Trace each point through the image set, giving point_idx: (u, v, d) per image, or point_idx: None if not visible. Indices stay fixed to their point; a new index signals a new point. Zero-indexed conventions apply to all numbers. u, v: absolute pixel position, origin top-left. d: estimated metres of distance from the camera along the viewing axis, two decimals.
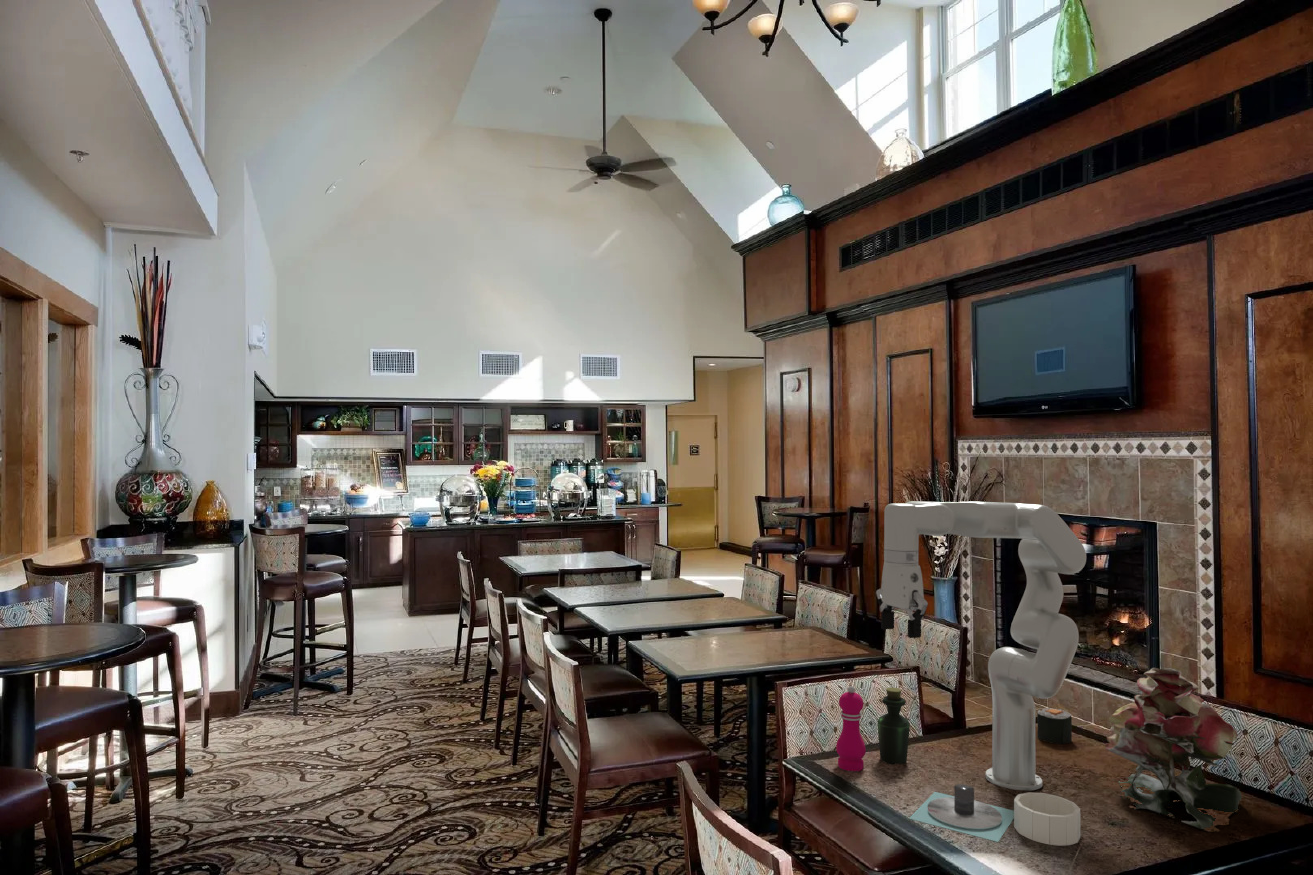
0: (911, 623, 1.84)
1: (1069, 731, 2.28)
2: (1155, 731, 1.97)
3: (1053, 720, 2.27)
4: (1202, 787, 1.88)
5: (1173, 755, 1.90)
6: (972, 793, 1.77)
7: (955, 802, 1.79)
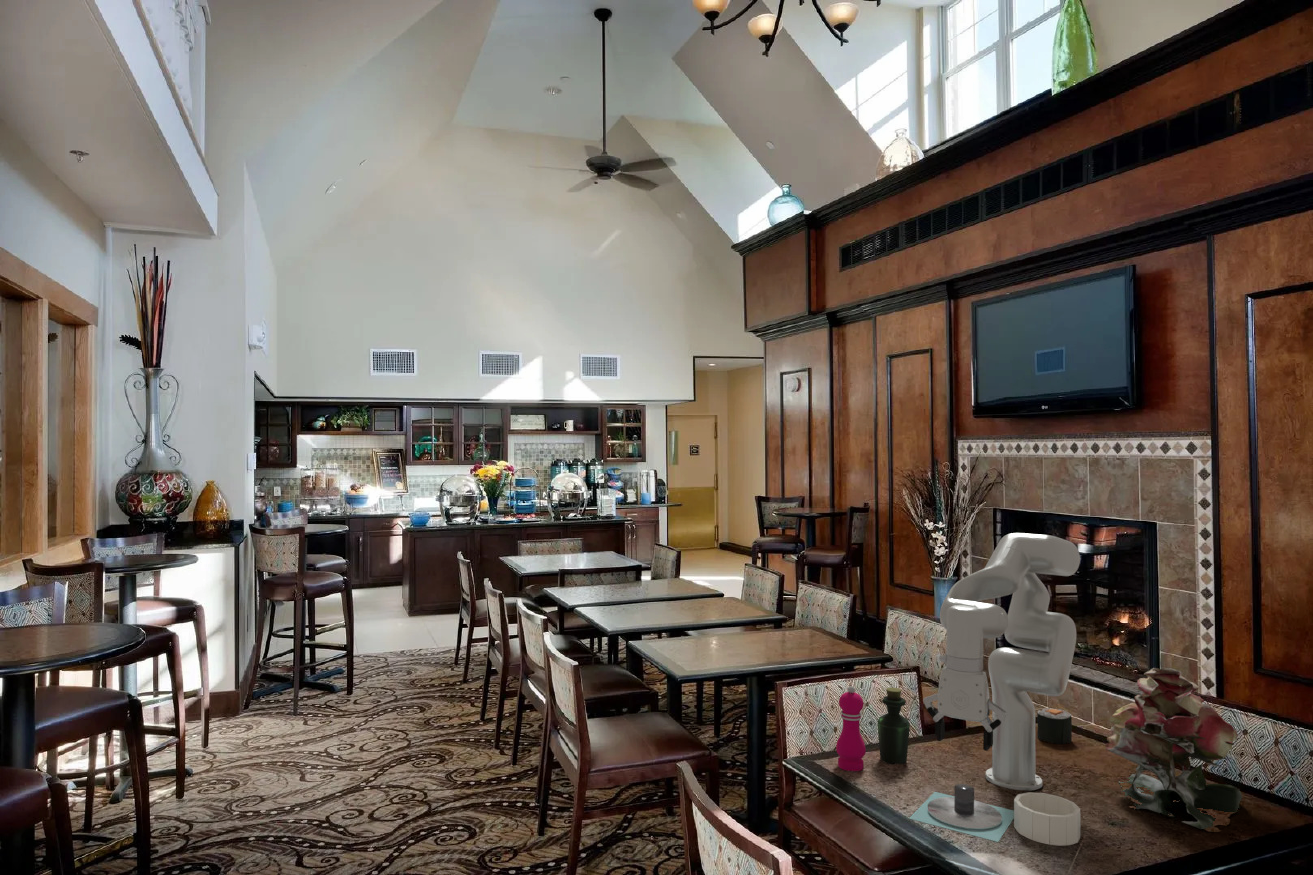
0: None
1: (1069, 731, 2.28)
2: (1155, 731, 1.97)
3: (1053, 720, 2.27)
4: (1202, 787, 1.88)
5: (1173, 755, 1.90)
6: (972, 793, 1.77)
7: (955, 802, 1.79)
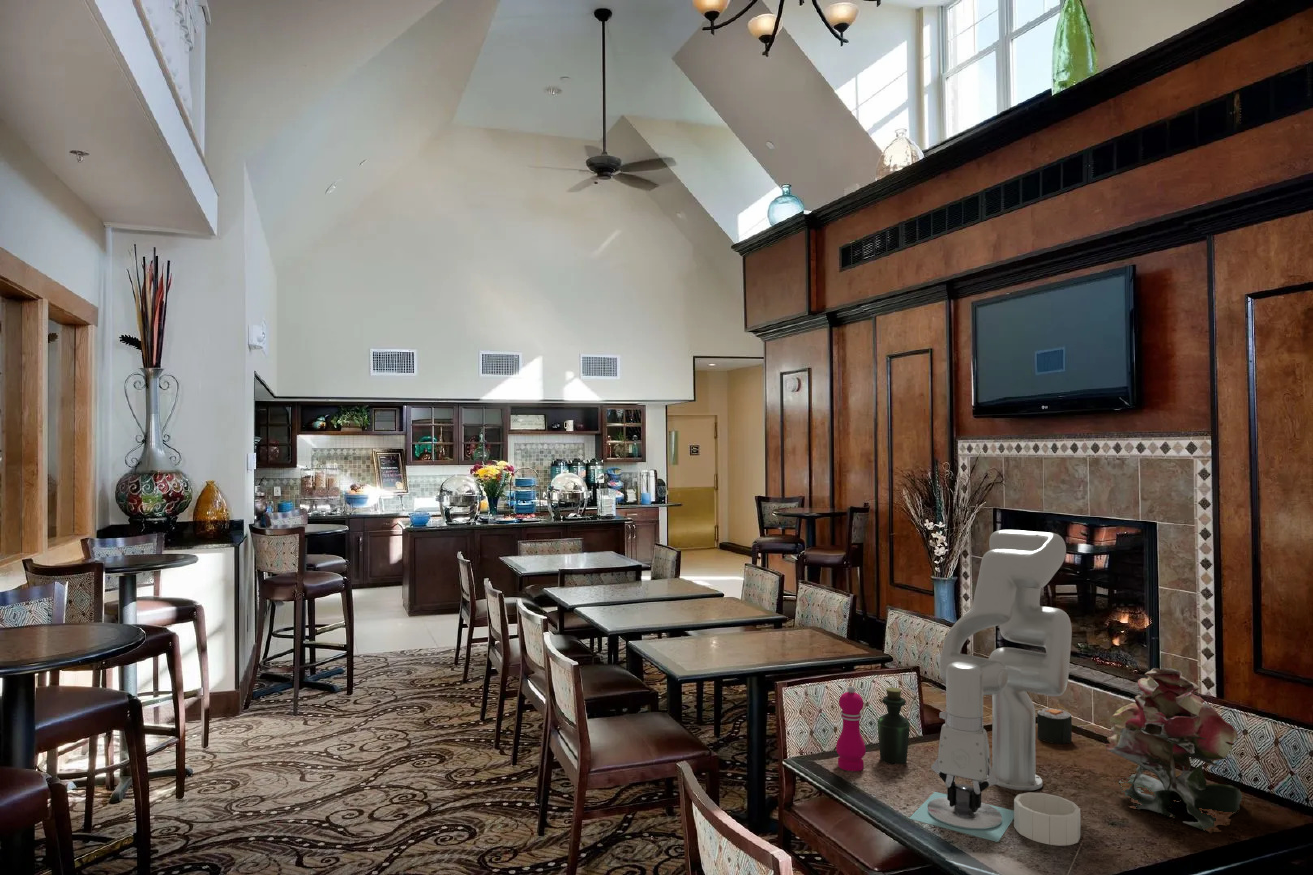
0: None
1: (1069, 731, 2.28)
2: (1155, 731, 1.96)
3: (1053, 720, 2.27)
4: (1203, 787, 1.88)
5: (1174, 755, 1.90)
6: None
7: (955, 802, 1.79)
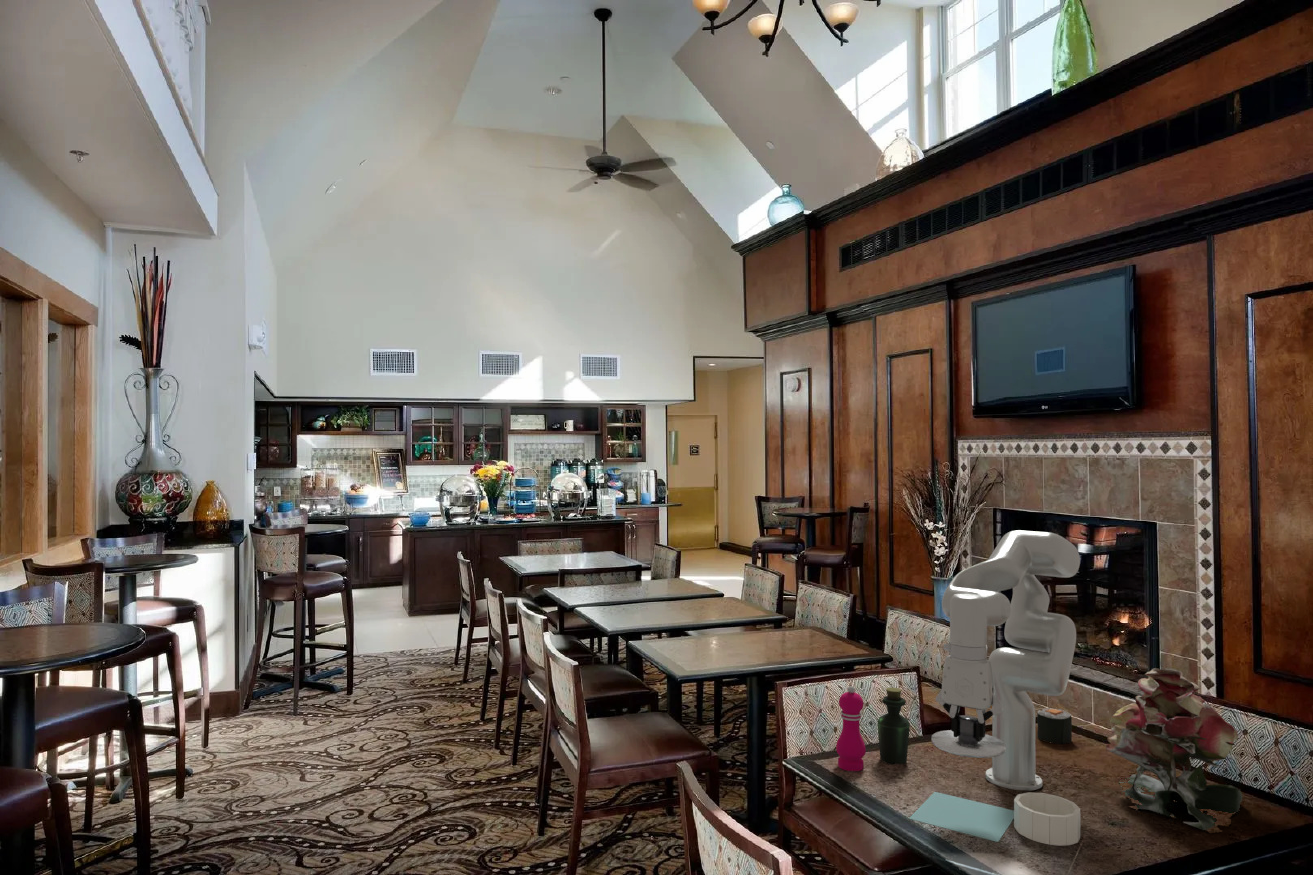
0: None
1: (1069, 731, 2.28)
2: (1156, 732, 1.96)
3: (1053, 720, 2.27)
4: (1203, 788, 1.88)
5: (1174, 756, 1.89)
6: None
7: (959, 732, 1.79)
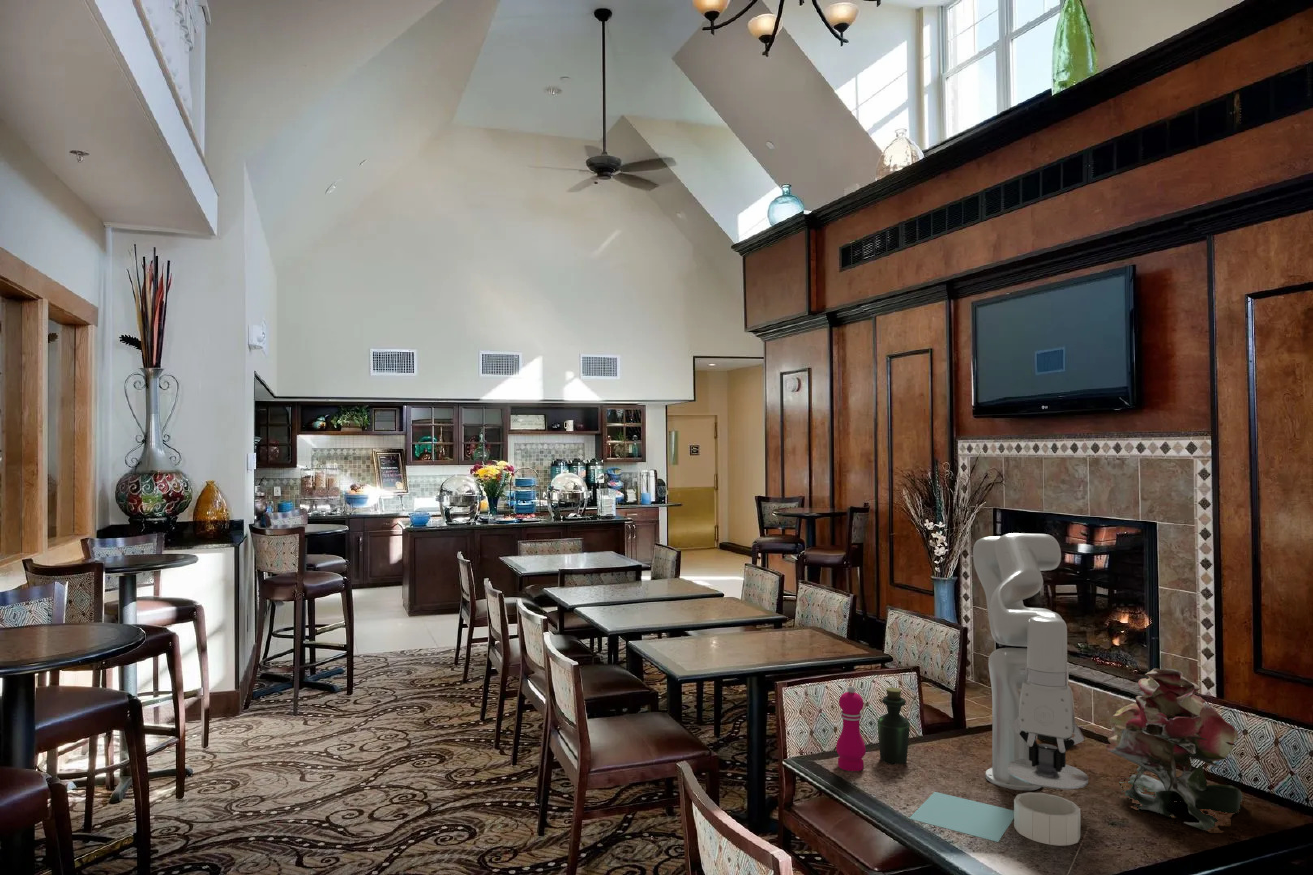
0: None
1: None
2: (1156, 732, 1.96)
3: None
4: (1203, 788, 1.88)
5: (1174, 756, 1.89)
6: None
7: (1038, 762, 1.71)
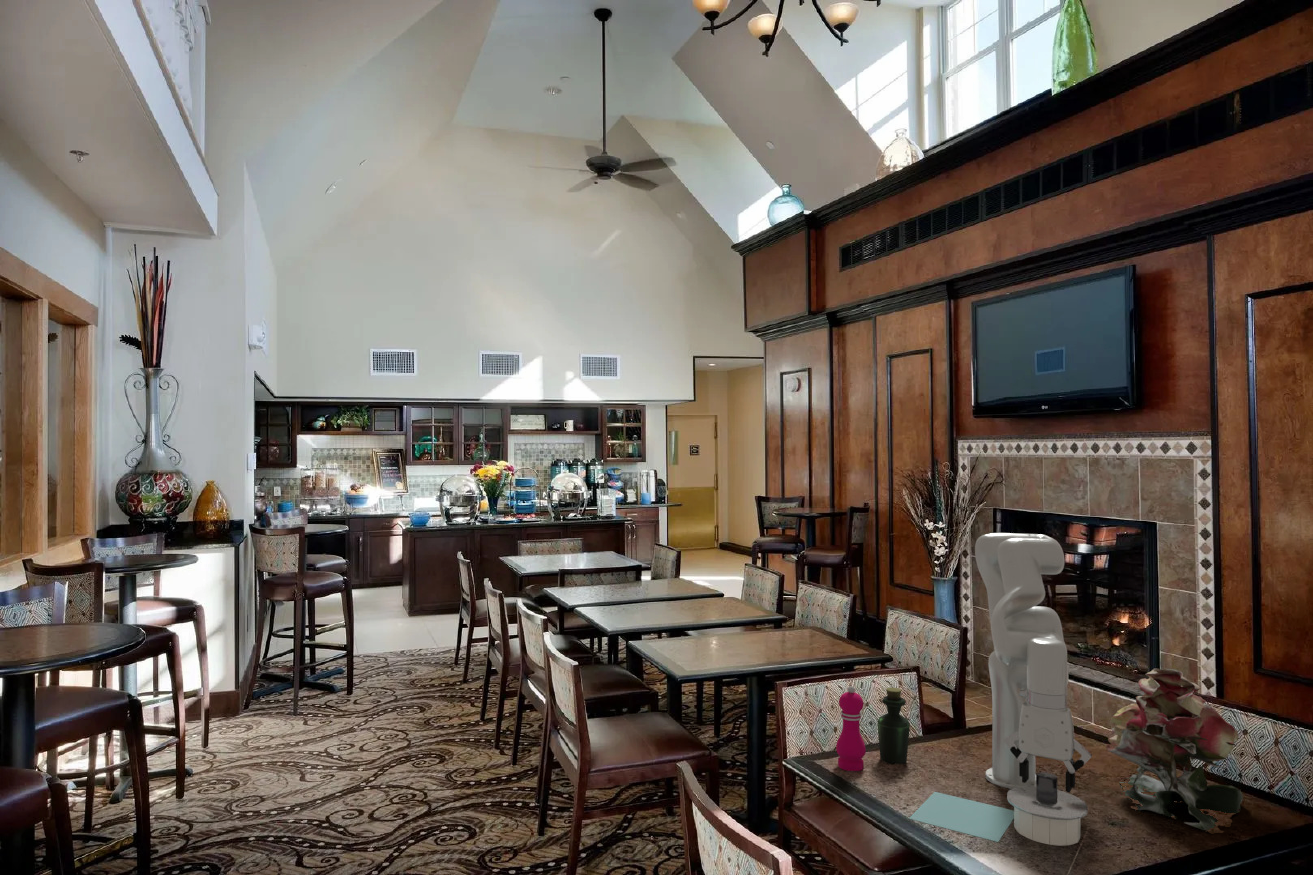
0: None
1: None
2: (1156, 732, 1.96)
3: None
4: (1203, 788, 1.87)
5: (1174, 756, 1.89)
6: (1056, 781, 1.70)
7: (1037, 791, 1.71)
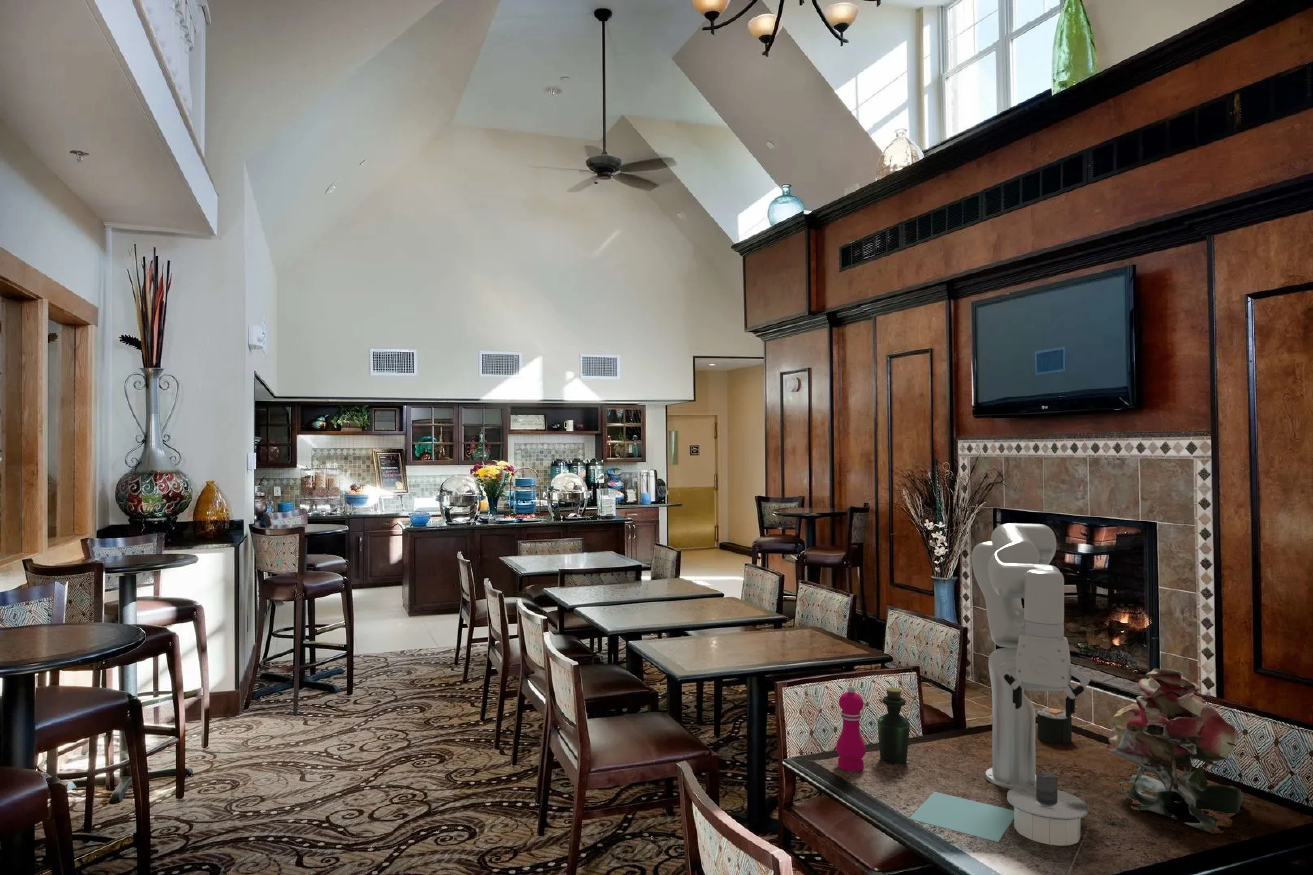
0: None
1: (1069, 731, 2.28)
2: (1156, 732, 1.96)
3: (1053, 720, 2.27)
4: (1204, 788, 1.87)
5: (1175, 756, 1.89)
6: (1056, 781, 1.70)
7: (1037, 791, 1.71)
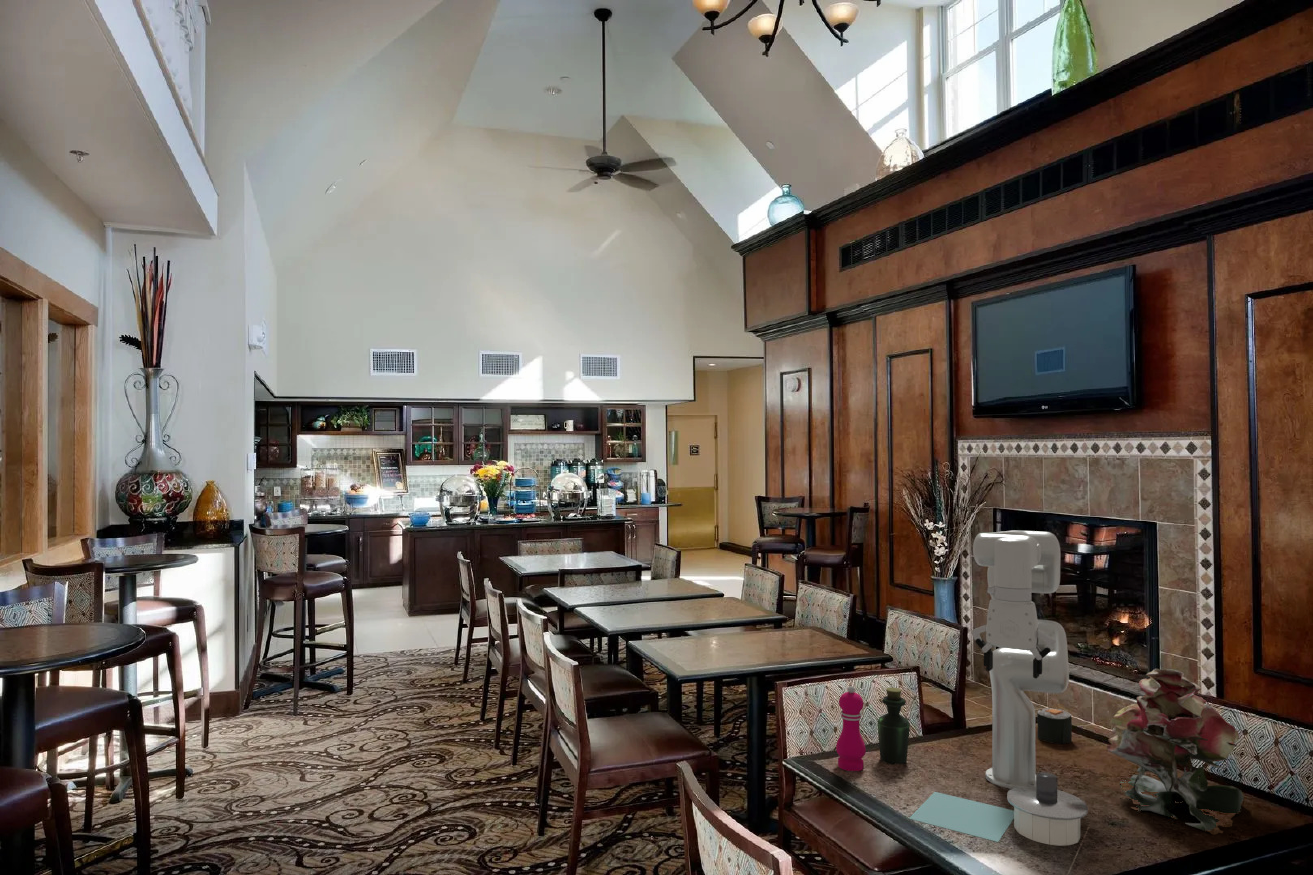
0: None
1: (1069, 731, 2.28)
2: (1157, 732, 1.96)
3: (1053, 720, 2.27)
4: (1204, 788, 1.87)
5: (1175, 756, 1.89)
6: (1056, 781, 1.70)
7: (1037, 791, 1.71)
